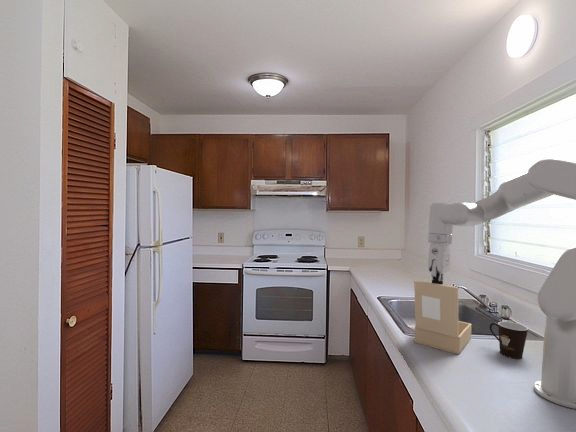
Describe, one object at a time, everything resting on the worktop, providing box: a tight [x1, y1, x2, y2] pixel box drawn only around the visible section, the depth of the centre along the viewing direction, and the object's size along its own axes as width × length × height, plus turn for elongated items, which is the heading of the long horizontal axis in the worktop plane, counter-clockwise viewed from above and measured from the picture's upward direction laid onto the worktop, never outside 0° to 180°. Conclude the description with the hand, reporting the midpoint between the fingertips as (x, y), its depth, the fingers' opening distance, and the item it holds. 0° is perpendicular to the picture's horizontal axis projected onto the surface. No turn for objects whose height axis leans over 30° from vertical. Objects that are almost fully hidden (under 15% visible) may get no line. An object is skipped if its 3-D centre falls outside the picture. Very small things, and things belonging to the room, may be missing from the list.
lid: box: [413, 279, 459, 338], centre depth 119 cm, size 14×18×1 cm
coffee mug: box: [489, 321, 529, 360], centre depth 120 cm, size 12×9×10 cm
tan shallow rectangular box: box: [413, 320, 472, 355], centre depth 129 cm, size 15×18×6 cm
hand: (436, 291), depth 120 cm, fingers closed
